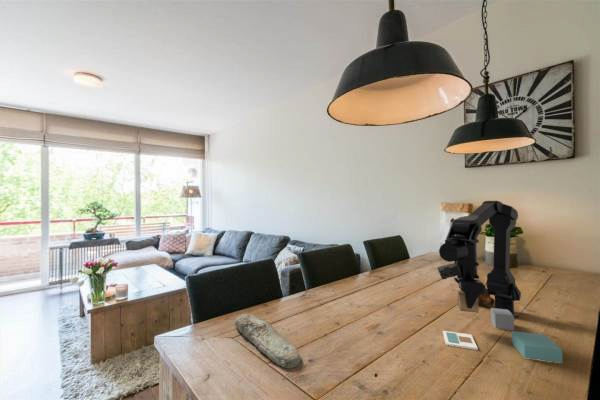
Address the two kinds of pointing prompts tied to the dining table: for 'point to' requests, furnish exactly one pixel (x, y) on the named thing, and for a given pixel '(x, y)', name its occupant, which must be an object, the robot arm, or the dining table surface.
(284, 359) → the elongated rock
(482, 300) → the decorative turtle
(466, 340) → the tile
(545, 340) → the teal base block
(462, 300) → the walnut block
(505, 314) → the slate grey block
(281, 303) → the dining table surface
